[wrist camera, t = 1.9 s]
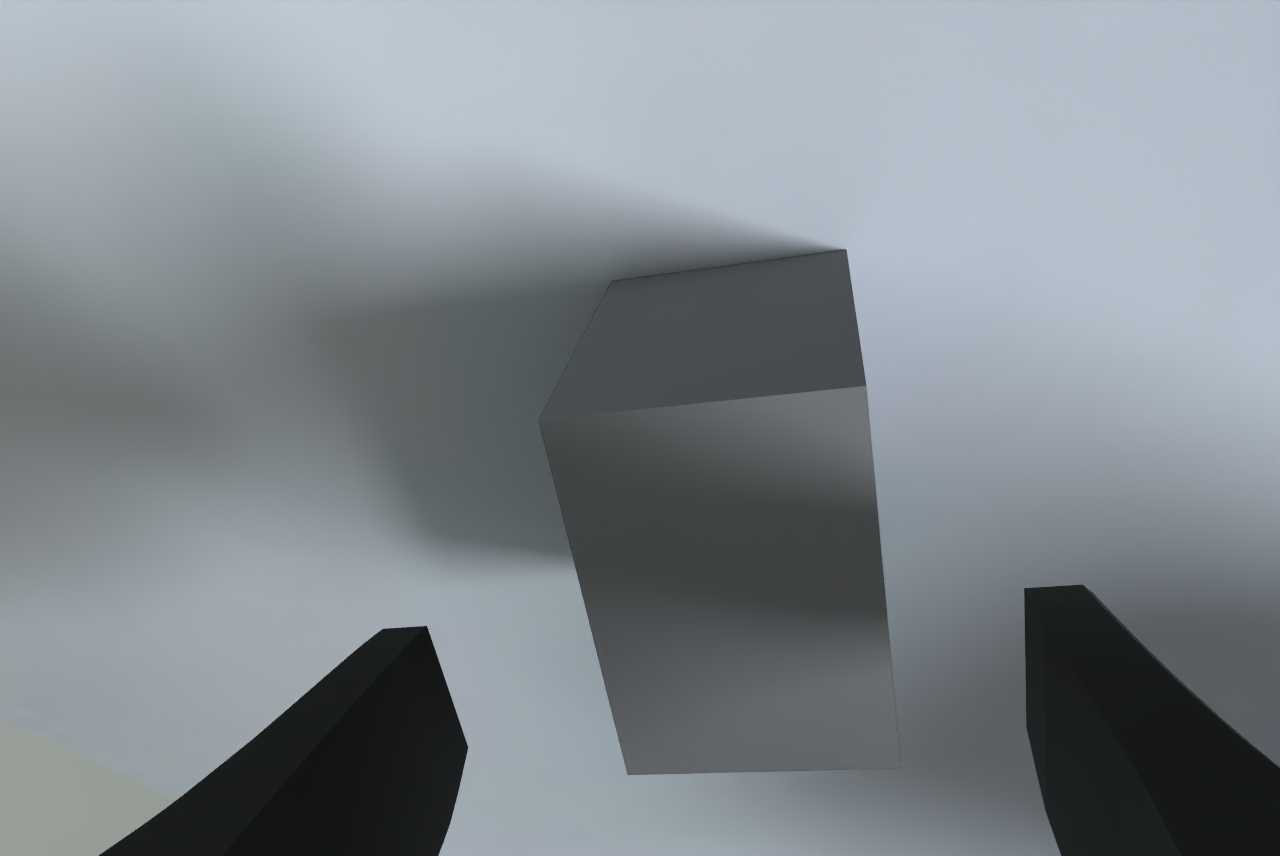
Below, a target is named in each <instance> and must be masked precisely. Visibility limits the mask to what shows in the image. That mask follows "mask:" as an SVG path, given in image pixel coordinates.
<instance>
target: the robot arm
mask: <svg viewBox="0 0 1280 856" xmlns="http://www.w3.org/2000/svg"><path fill="white" fill-rule="evenodd" d="M1024 592H1025V656H1026V719H1027V731H1028V736H1029V740H1030V745H1031V749H1032V754H1033V758H1034V762H1035V767H1036V771H1037V776H1038V780H1039V784H1040V788H1041V793H1042V797H1043V801H1044V805H1045V810H1046V813H1047V816H1048V819H1049V822H1050V825H1051V828H1052V830H1053V833H1054V836H1055V839H1056V842H1057V845H1058V848H1059V850H1060V853H1061V856H1280V767H1279V766H1277V765H1276V764H1275V763H1274V762H1272V761H1271V760H1270V759H1269V758H1268V757H1266V756H1265V755H1264V754H1263V753H1261V752H1260V751H1259V750H1258V749H1257V748H1255V747H1254V746H1253V745H1252V744H1250V743H1249V742H1248V741H1247V740H1246V739H1245V738H1243V737H1242V736H1241V735H1240V734H1239V733H1238V732H1236V731H1235V730H1234V729H1233V728H1232V727H1231V726H1230V725H1228V724H1227V723H1226V722H1225V721H1224V720H1223V719H1222V718H1220V717H1219V716H1218V715H1217V714H1216V713H1215V712H1214V711H1213V710H1212V709H1211V708H1209V707H1208V706H1207V705H1206V704H1205V703H1204V702H1203V701H1202V700H1201V699H1200V698H1198V697H1197V696H1196V695H1195V694H1194V693H1193V692H1192V691H1191V690H1190V689H1189V688H1187V687H1186V686H1185V685H1184V684H1183V683H1182V682H1181V681H1180V680H1179V679H1178V678H1177V677H1175V676H1174V675H1173V674H1172V673H1171V672H1170V671H1169V670H1168V669H1167V668H1166V667H1165V666H1164V665H1163V664H1162V663H1161V662H1160V661H1159V660H1158V659H1157V658H1156V657H1155V656H1154V655H1153V654H1152V653H1151V652H1150V651H1149V650H1148V649H1147V648H1146V647H1145V646H1144V645H1143V644H1142V643H1141V642H1140V641H1139V640H1138V639H1137V638H1136V637H1135V636H1134V635H1133V634H1132V633H1131V632H1130V631H1129V630H1128V629H1127V628H1126V627H1125V626H1124V625H1123V624H1122V623H1121V622H1120V621H1119V620H1118V619H1117V618H1116V617H1115V616H1114V615H1113V614H1112V613H1111V612H1110V611H1109V610H1108V609H1107V607H1106V606H1105V605H1104V604H1103V603H1102V602H1101V601H1100V600H1099V599H1098V598H1097V597H1096V596H1095V595H1094V594H1093V593H1092V592H1091V591H1090V590H1088V589H1087V588H1086V587H1085V586H1083V585H1071V586H1055V587H1039V588H1024ZM467 750H468V745H467V742H466V740H465V737H464V734H463V731H462V728H461V725H460V722H459V719H458V716H457V713H456V710H455V707H454V704H453V701H452V698H451V695H450V693H449V690H448V687H447V684H446V681H445V678H444V675H443V672H442V669H441V666H440V663H439V660H438V657H437V654H436V651H435V648H434V646H433V643H432V640H431V637H430V634H429V631H428V628H427V626H422V627H406V628H390V629H382V630H381V631H380V632H378V633H377V634H376V635H374V636H373V637H372V638H370V639H369V640H368V641H367V642H365V643H364V644H363V645H362V646H360V647H359V648H358V649H357V650H356V651H354V652H353V653H352V654H351V655H350V656H349V657H347V658H346V659H345V660H344V661H343V662H342V663H340V664H339V665H338V666H337V667H336V668H335V669H333V670H332V671H331V672H330V673H329V674H328V675H327V676H325V677H324V678H323V679H322V680H321V681H320V682H319V683H317V684H316V685H315V686H314V687H313V688H312V689H311V690H309V691H308V692H307V693H306V694H305V695H304V696H302V697H301V698H300V699H299V700H298V701H297V702H296V703H294V704H293V705H292V706H291V707H290V708H289V709H287V710H286V711H285V712H284V713H283V714H282V715H280V716H279V717H278V718H277V719H276V720H275V721H273V722H272V723H271V724H270V725H269V726H268V727H267V728H265V729H264V730H263V731H262V732H261V733H260V734H258V735H257V736H256V737H255V738H254V739H252V740H251V741H250V742H249V743H248V744H246V745H245V746H244V747H243V748H241V749H240V750H239V751H238V752H236V753H235V754H234V755H233V756H231V757H230V758H229V759H228V760H226V761H225V762H224V763H223V764H221V765H220V766H219V767H218V768H216V769H215V770H214V771H213V772H211V773H210V774H209V775H208V776H206V777H205V778H204V779H203V780H202V781H200V782H199V783H198V784H197V785H195V786H194V787H193V788H192V789H190V790H189V791H188V792H187V793H185V794H184V795H183V796H182V797H180V798H179V799H178V800H176V801H175V802H174V803H172V804H171V805H170V806H168V807H167V808H166V809H164V810H163V811H162V812H160V813H159V814H157V815H156V816H155V817H153V818H152V819H151V820H149V821H148V822H147V823H145V824H144V825H142V826H141V827H140V828H138V829H137V830H135V831H134V832H132V833H131V834H129V835H128V836H126V837H125V838H124V839H122V840H121V841H119V842H118V843H116V844H115V845H114V846H112V847H110V848H109V849H108V850H106V851H105V852H103V853H102V854H100V855H99V856H438V855H439V852H440V850H441V847H442V844H443V842H444V839H445V836H446V833H447V831H448V828H449V825H450V822H451V818H452V814H453V810H454V806H455V802H456V798H457V795H458V791H459V786H460V782H461V777H462V773H463V768H464V764H465V759H466V755H467Z"/></svg>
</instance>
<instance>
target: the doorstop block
mask: <svg viewBox="0 0 1280 856" xmlns="http://www.w3.org/2000/svg"><path fill="white" fill-rule="evenodd" d="M539 424H540V428H541V432H542V436H543V440H544V444H545V448H546V452H547V456H548V460H549V464H550V468H551V472H552V476H553V480H554V484H555V488H556V492H557V496H558V500H559V504H560V508H561V512H562V516H563V520H564V524H565V528H566V532H567V536H568V539H569V543H570V547H571V551H572V555H573V559H574V563H575V567H576V571H577V575H578V579H579V583H580V587H581V591H582V595H583V599H584V603H585V607H586V611H587V615H588V619H589V623H590V627H591V631H592V635H593V639H594V643H595V647H596V651H597V655H598V659H599V663H600V667H601V671H602V675H603V679H604V683H605V687H606V691H607V695H608V699H609V703H610V707H611V711H612V715H613V719H614V723H615V727H616V730H617V734H618V738H619V742H620V746H621V750H622V754H623V758H624V762H625V766H626V770H627V774H628V775H647V774H686V773H726V772H766V771H806V770H846V769H886V768H901V764H900V753H899V742H898V731H897V720H896V709H895V698H894V687H893V676H892V665H891V654H890V643H889V632H888V621H887V610H886V598H885V587H884V576H883V565H882V554H881V543H880V532H879V521H878V510H877V499H876V488H875V477H874V466H873V455H872V444H871V433H870V422H869V411H868V400H867V389H866V381H865V374H864V367H863V360H862V353H861V346H860V340H859V333H858V326H857V319H856V312H855V305H854V299H853V292H852V285H851V278H850V271H849V264H848V257H847V251H846V250H840V251H833V252H825V253H818V254H810V255H803V256H795V257H788V258H780V259H773V260H765V261H758V262H750V263H743V264H736V265H728V266H721V267H713V268H706V269H698V270H691V271H683V272H676V273H668V274H661V275H653V276H646V277H638V278H631V279H623V280H616V281H612V282H611V284H610V285H609V287H608V289H607V291H606V293H605V295H604V297H603V299H602V301H601V303H600V304H599V306H598V308H597V310H596V312H595V314H594V316H593V318H592V320H591V322H590V323H589V325H588V327H587V329H586V331H585V333H584V335H583V337H582V339H581V340H580V342H579V344H578V346H577V348H576V350H575V352H574V354H573V356H572V358H571V359H570V361H569V363H568V365H567V367H566V369H565V371H564V373H563V375H562V377H561V378H560V380H559V382H558V384H557V386H556V388H555V390H554V392H553V394H552V395H551V397H550V399H549V401H548V403H547V405H546V407H545V409H544V411H543V413H542V414H541V416H540V418H539Z"/></svg>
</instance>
